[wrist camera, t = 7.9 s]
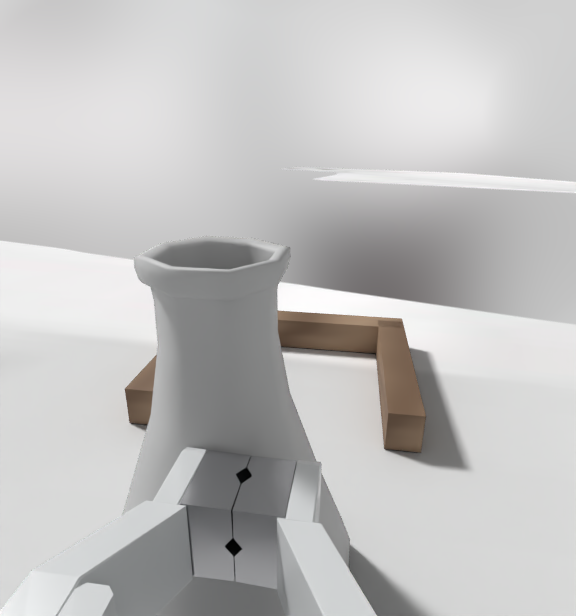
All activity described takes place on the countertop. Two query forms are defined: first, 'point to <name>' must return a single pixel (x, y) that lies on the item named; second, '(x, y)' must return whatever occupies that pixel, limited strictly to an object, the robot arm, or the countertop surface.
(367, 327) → the dock
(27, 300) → the countertop surface
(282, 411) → the flask
